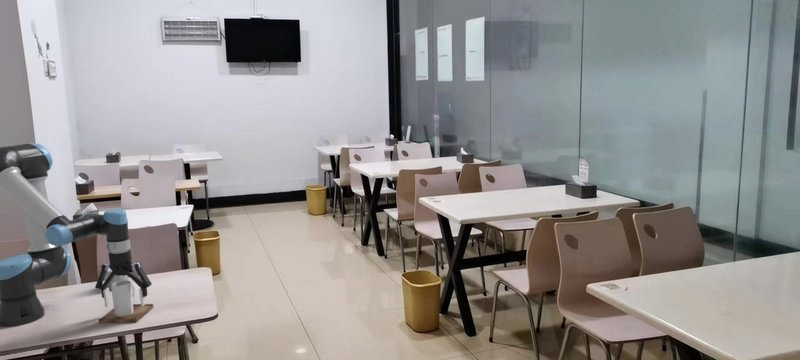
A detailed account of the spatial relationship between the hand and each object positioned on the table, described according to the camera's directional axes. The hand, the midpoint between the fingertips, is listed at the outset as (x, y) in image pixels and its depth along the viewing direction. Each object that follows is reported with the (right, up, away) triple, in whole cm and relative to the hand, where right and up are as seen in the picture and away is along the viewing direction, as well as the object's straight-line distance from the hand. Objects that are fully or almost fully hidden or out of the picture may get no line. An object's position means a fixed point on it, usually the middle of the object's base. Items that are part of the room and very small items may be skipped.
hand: (125, 305), depth 220 cm
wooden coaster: (0, -4, +1) cm, 4 cm away
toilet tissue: (-19, +1, +34) cm, 39 cm away
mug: (0, -3, +1) cm, 3 cm away
